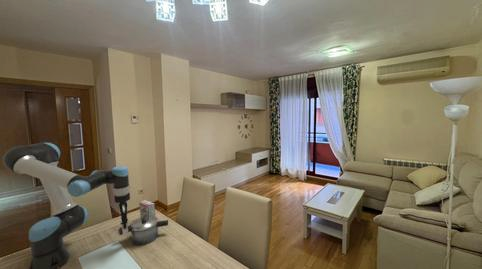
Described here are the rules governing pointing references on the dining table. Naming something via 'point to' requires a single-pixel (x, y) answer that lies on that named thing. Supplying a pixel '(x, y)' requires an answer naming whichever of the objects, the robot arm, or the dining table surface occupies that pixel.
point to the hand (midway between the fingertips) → (125, 233)
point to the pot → (146, 234)
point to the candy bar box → (147, 208)
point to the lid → (141, 224)
